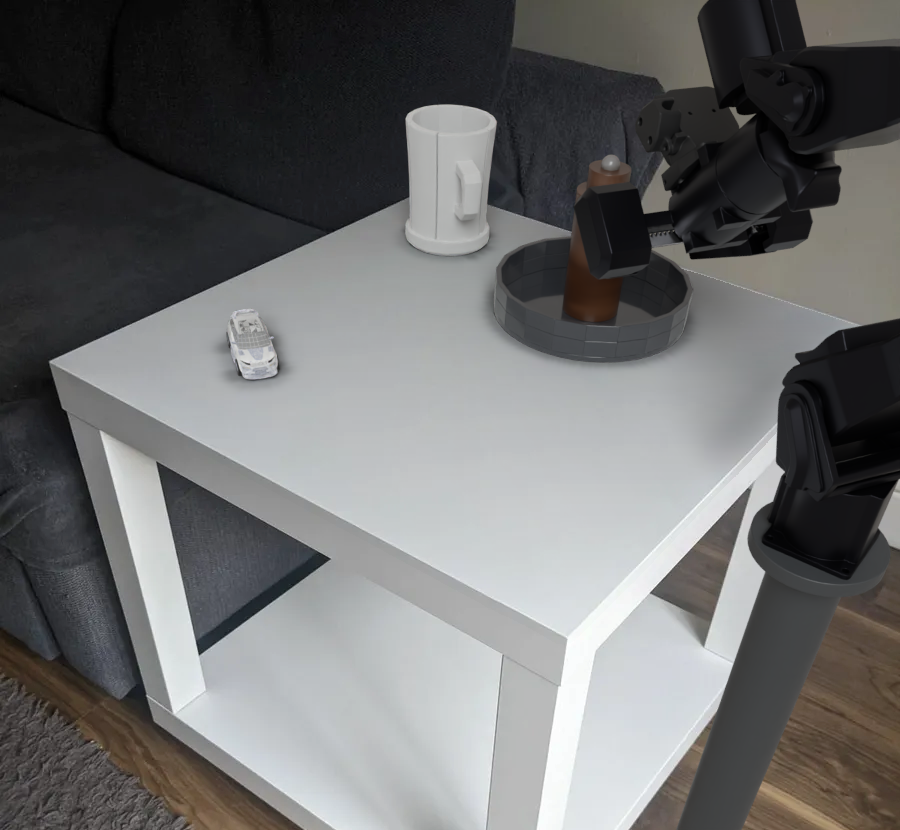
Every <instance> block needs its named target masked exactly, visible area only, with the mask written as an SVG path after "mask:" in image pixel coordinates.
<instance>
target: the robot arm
mask: <svg viewBox="0 0 900 830" xmlns="http://www.w3.org/2000/svg"><path fill="white" fill-rule="evenodd" d="M696 18H697V24H698V28H699V32H700V36H701V40H702V43H703V49H704V52H705V56H706V60H707V64H708V69H709V72H710V77H711V82H712V86H713V87H712V86H707V85H706V86H695V87H685V88H675V89H670V90H666V92H665V93H664V94H658V95H654V96H653V99H652V100H650V101H649V102H648V103H646V104H644V105H643V107H642V108H641V110H640V111H639V114H638V116H637V118H636V120H635V124H634V129H635V133H636V134H637V137H638V139H639V141H640V143H641V146H642V147H643V149H644V151H645V152H646V153H656V152H657V153H658V152H659V153H661V155H662V157H663V158H664V161H665V162H666V164H667V165H668V166H669V167H668V168H667V169H665V171H664V172H662V173H661V174H660V177H661V181H662V184H663V188H664V191H665V192H669V191H670V193H671V196H670V197H669V199H668V207H667V208H668V209H667V210H661V211H655V212H647V213H645V212H644V208H643V205H642V201H641V200H642V199H641V196H640V192H639V189H638V187H636V186H635V185H633V184H632V183H631V182H625V183H617V184H610V185H602V186H594V187H588V189H587V190H586V191H585V192H584V193H583V194H582V195H581V196H580V197H579V198H578V200H577V202H576V203H575V202H574V205H573V212H574V211H575V215H576V219H577V223H578V227H579V231H580V235H581V239H582V243H583V247H584V251H585V255H586V259H587V263H588V267H589V271H590V274H592V275H593V276H594V277H596V278H597V279H598V280H599V279H605V278H606V279H611V278H617V277H624V276H630V275H636V274H638V271H639V270H642V269H643V268H645V267H646V266H647V265H649V262H650V256H651V251H652V250H653V249H655V248H663V247H669V246H675V245H682V244H683V246H684V250H685V254H686V255H687V254H688V256H689V259H690V260H693V261H695V260H710V259H723V258H740V257H752V256H758V255H759V256H760V255H765V254H771V253H775V252H777V251H782V250H784V251H785V250H789V249H794V248H795V247H797V246H799V245H800V244H802V243H803V242H805V241H807V240H808V239H809V236H810V233H811V231H812V226H813V223H814V221H813V215H812V211H811V210H816V209H821V208H822V209H823V208H828V207H829V208H830V207H835V206H836V205H837V204H838V203H839V200H840V195H841V189H842V187H841V183H840V177H841V174H842V171H843V169H842V166H841V165H839V164H837V163H836V152H839V151H845V150H853V149H863V148H868V147H877V146H883V145H889V144H891V143H894V142H896V141H899V140H900V38H886V39H875V40H863V41H854V42H843V43H841V42H840V43H833V44H831V43H830V44H819V45H809V46H807V41H806V38H805V33H804V28H803V25H802V20H801V17H800V13H799V9H798V4H797V0H707V1H705V3H704V4H703V5H702V6H701V8H700V9H699V11H698V14H697V17H696ZM730 108H735V111H736V113H737V114H738V115H739V116H751V118H750V119H749V120H747V121H746V122H745V123H744V124H743V125H741V126H740V125H739V123H738V121H737V119H736V117H735V115H734V114H733V112H732V111H731V109H730ZM752 115H753V116H752ZM794 359H795V360H796V361H797V362H798V364H795V365H793V366H792V367H791V368H790V369H789V370H788V371H787V372H786V374H785V375H784V377H783V379H782V381H781V385H782V386H783V389H782V390H781V392H780V394H779V397H778V401H777V402H778V404H777V421H776V422H777V423H776V442H775V443H776V444H775V445H776V447H775V448H776V449H775V462H776V465H777V466H778V467H779V468H780V469H781V471H783V473H782V475H781V476H780V478H779V482H778V485H777V487H776V491H775V494H774V495H773V496H774V497H773V499H772V501H771V502H772V505H771V508H770V511H769V515H768V518H767V520H768V522H769V523H771V524H772V525H771V526H770V528H769V529H768V530H767V531H766V532H765V534H764V535H763V538H762V543H763V544H764V545H765V546H767V547H770V548H772V549H774V550H777V551H779V552H781V553H783V554H786V555H788V556H790V557H792V558H795V559H797V560H799V561H801V562H804V563H806V564H808V565H811V566H813V567H815V568H817V569H820V570H822V571H824V572H826V573H829V574H831V575H833V576H835V577H838V578H840V579H843V580H849V579H850V578H851V577H852V576H853V574H854V573H855V571H856V570H857V568H858V567H859V565H860V564H861V562H862V561H863V559H864V558H865V556H866V555H867V553H868V552H869V550H870V549H871V548H872V546H873V545H874V543H875V542H876V540H877V539H878V537H879V535H880V531H881V529H880V528H879V526H880V524H881V522H882V519H883V517H884V515H885V512H886V511H887V509H888V506H889V503H890V502H891V499H892V497H893V494H894V492H895V490H896V487H897V485H898V482H899V480H900V317H899V318H893V319H889V320H883V321H878V322H874V323H873V322H872V323H868V324H863V325H857V326H853V327H847V328H842V329H838V330H836V331H834V332H832V333H831V334H829V335H828V336H826V337H825V338H824V340H822V341H821V342H820V343H819V344H818V345H817V346H816V347H814V348H813V349H809V350H806V351H800V352H796V353H795V354H794ZM878 528H879V529H878Z"/></svg>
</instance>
